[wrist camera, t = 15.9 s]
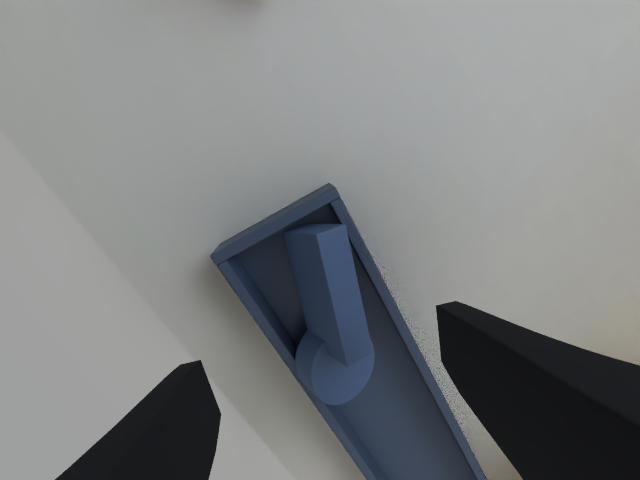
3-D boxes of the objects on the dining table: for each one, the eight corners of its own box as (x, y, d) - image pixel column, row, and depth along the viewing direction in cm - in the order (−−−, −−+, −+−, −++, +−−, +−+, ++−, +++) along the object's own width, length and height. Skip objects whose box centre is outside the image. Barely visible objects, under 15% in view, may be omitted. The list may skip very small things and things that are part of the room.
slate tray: (219, 243, 14) (209, 256, 12) (329, 182, 14) (334, 186, 12) (417, 533, 21) (429, 569, 19) (493, 497, 21) (513, 530, 19)
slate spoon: (259, 238, 13) (289, 243, 10) (326, 216, 14) (367, 216, 12) (304, 402, 14) (340, 442, 12) (360, 365, 16) (402, 393, 14)
